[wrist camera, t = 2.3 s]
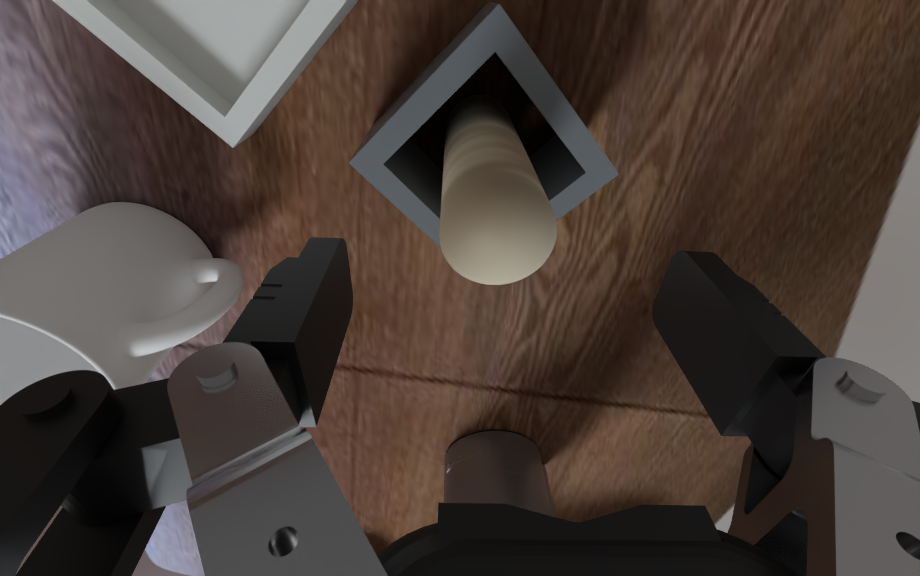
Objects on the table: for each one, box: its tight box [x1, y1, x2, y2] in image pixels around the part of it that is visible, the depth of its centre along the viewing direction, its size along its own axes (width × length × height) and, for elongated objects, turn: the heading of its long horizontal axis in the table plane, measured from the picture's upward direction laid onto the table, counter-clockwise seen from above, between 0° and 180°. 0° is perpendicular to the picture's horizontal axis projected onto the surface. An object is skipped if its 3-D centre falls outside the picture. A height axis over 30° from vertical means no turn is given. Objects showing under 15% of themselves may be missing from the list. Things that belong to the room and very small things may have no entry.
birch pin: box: [439, 95, 557, 285], centre depth 17 cm, size 4×4×12 cm
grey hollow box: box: [349, 2, 619, 248], centre depth 20 cm, size 8×8×6 cm
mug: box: [0, 202, 245, 405], centre depth 22 cm, size 12×8×10 cm
